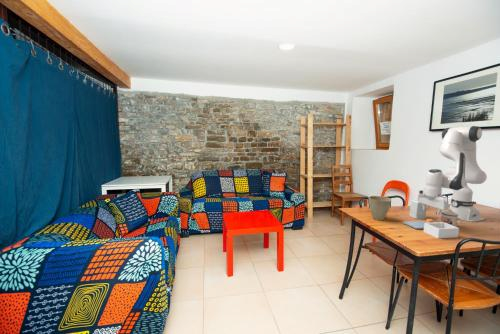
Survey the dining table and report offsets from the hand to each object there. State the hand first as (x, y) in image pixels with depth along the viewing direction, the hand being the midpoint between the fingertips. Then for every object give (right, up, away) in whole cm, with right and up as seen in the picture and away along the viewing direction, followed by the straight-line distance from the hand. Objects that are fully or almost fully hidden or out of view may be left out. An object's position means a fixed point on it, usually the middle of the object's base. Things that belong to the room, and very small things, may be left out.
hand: (431, 212), depth 158 cm
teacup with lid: (+14, -10, +1) cm, 17 cm away
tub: (-5, -11, -13) cm, 18 cm away
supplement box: (+4, -8, +19) cm, 21 cm away
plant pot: (-29, -8, +15) cm, 33 cm away
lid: (-7, -10, 0) cm, 12 cm away
